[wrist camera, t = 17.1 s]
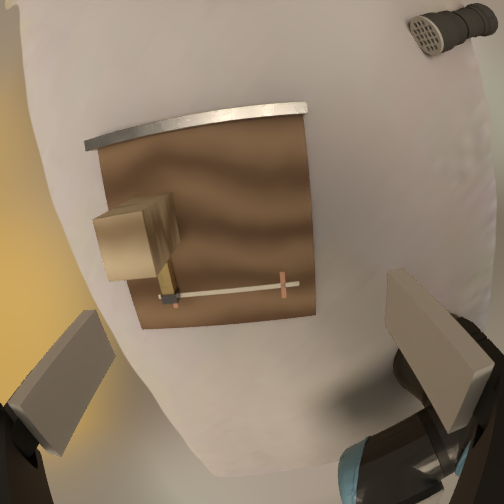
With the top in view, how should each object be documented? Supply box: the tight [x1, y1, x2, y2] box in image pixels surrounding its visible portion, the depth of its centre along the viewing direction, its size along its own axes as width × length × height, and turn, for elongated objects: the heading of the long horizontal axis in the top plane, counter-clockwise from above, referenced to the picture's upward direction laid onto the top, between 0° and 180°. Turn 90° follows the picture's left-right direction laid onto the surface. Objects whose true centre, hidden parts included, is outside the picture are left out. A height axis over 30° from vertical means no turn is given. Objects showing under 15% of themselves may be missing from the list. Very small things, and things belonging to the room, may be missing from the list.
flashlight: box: [410, 3, 498, 55], centre depth 23 cm, size 15×5×5 cm, turn 122°
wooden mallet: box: [93, 192, 181, 304], centre depth 31 cm, size 13×5×10 cm, turn 7°
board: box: [84, 102, 316, 329], centre depth 34 cm, size 26×24×4 cm
